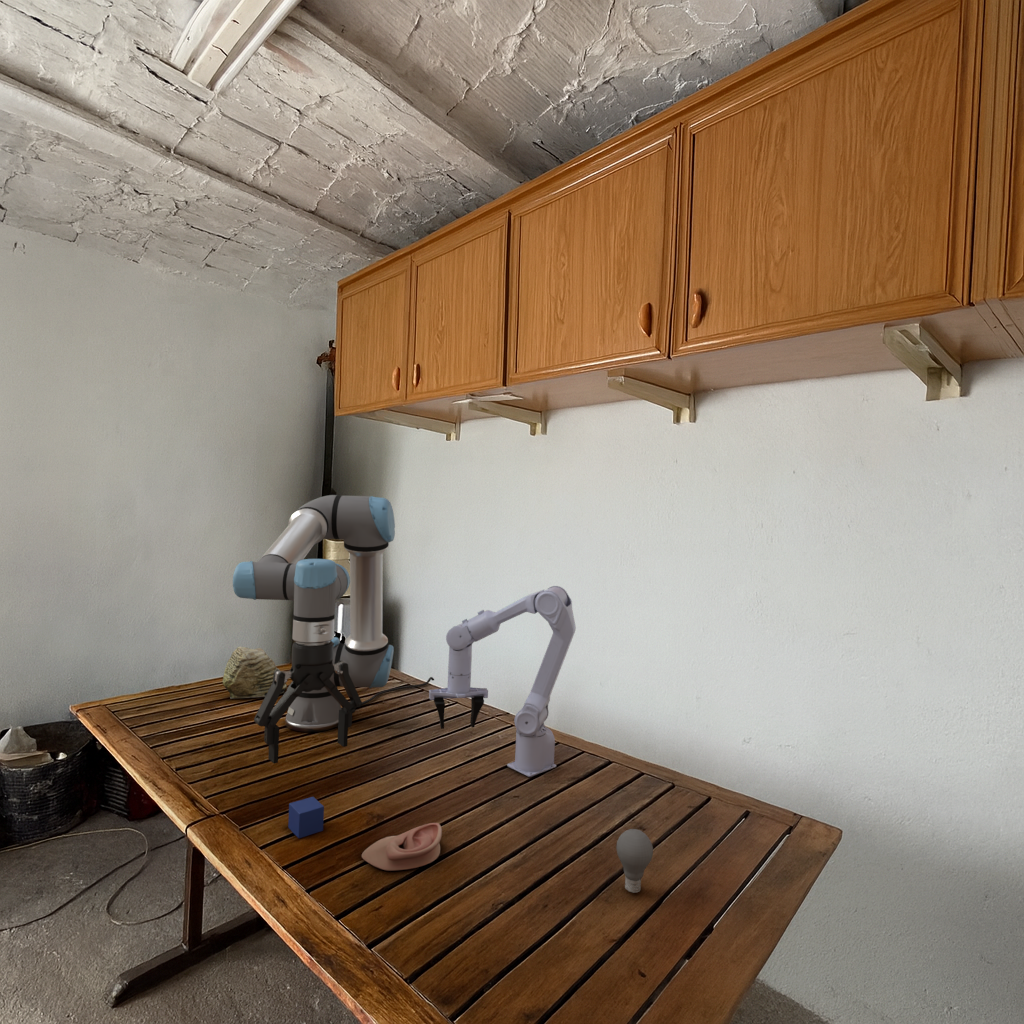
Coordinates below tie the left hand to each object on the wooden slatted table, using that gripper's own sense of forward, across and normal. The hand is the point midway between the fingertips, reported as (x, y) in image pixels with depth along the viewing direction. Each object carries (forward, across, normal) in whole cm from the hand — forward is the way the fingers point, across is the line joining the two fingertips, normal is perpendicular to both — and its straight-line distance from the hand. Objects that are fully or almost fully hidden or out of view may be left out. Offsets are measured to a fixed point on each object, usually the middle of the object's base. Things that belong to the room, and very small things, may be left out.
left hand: (309, 752), depth 120 cm
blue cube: (+15, 0, 0) cm, 15 cm away
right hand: (+8, +44, +12) cm, 46 cm away
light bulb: (+15, +35, -50) cm, 63 cm away
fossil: (+15, +19, +86) cm, 89 cm away
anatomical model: (+15, +10, -18) cm, 26 cm away
